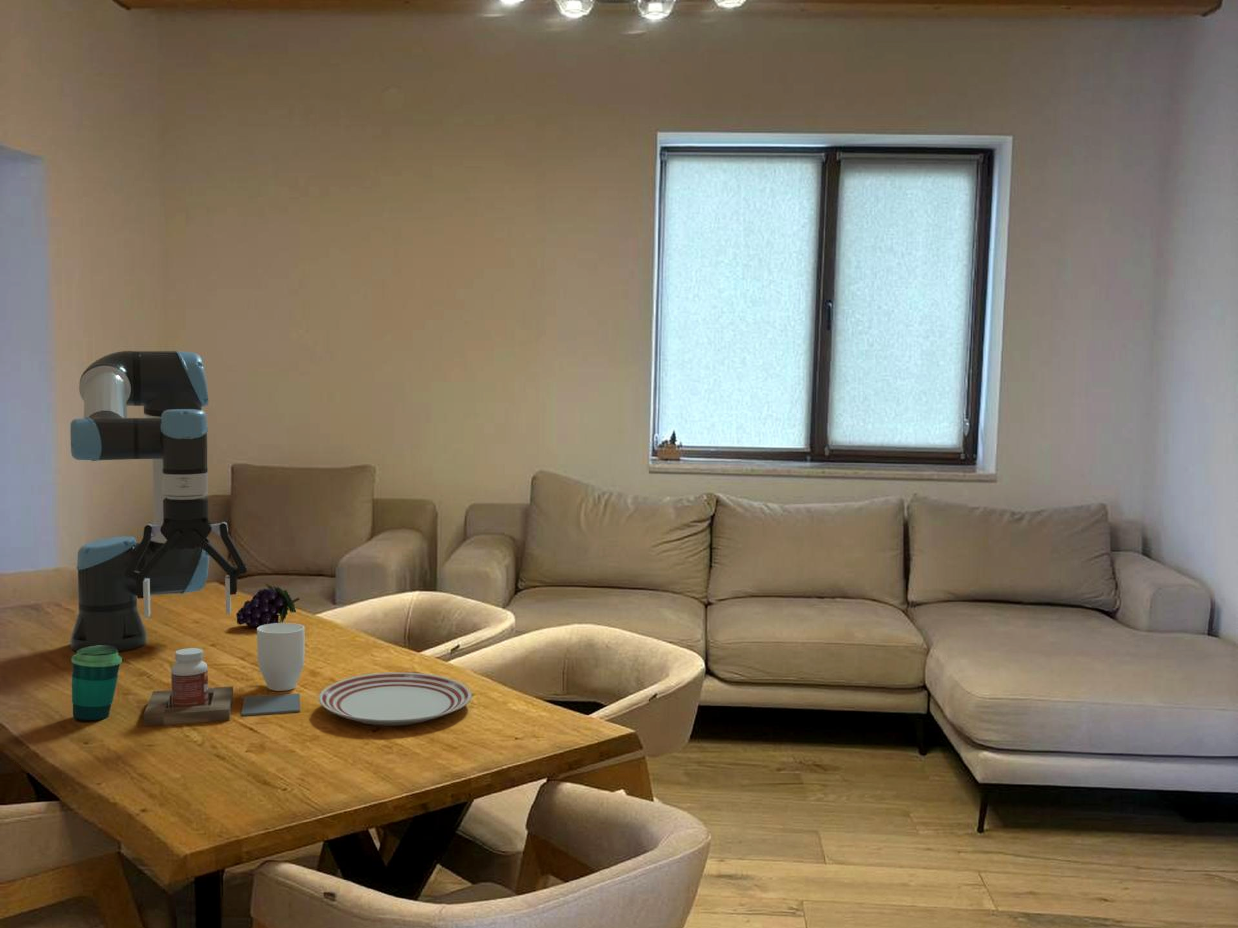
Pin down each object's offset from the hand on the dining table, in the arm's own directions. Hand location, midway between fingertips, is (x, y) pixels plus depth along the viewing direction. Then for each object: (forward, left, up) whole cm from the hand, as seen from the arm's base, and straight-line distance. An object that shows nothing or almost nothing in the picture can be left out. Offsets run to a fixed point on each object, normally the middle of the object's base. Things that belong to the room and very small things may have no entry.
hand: (188, 614), depth 198 cm
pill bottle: (0, 0, -18) cm, 18 cm away
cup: (-1, -15, -18) cm, 24 cm away
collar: (0, 0, -18) cm, 18 cm away
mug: (-12, +15, -18) cm, 26 cm away
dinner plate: (+7, +36, -18) cm, 41 cm away
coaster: (0, +14, -18) cm, 23 cm away
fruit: (-62, +12, -18) cm, 66 cm away
